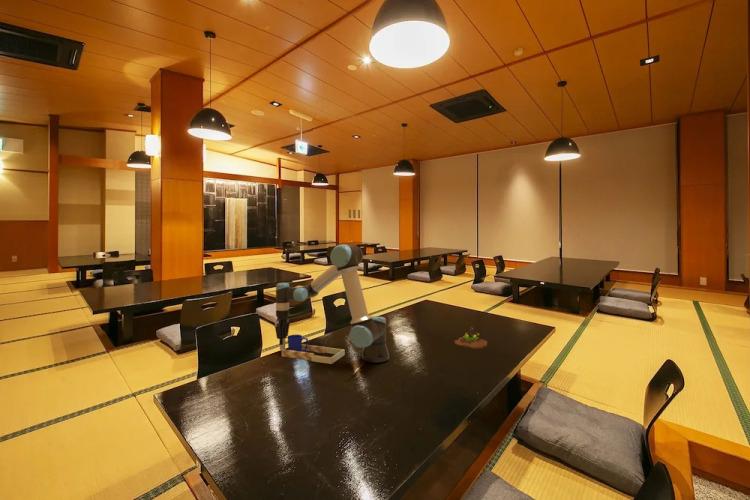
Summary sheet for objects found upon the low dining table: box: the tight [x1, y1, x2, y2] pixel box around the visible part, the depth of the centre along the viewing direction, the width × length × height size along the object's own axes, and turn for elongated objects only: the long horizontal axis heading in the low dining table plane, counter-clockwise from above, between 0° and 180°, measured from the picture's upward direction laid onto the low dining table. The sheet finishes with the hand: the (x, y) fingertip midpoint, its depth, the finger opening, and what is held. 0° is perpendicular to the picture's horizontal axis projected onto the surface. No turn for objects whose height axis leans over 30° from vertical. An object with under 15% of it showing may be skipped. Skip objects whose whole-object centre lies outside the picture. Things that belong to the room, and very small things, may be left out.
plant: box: [454, 326, 488, 350], centre depth 205 cm, size 20×20×11 cm
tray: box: [311, 346, 346, 365], centre depth 179 cm, size 12×16×3 cm
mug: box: [287, 334, 309, 352], centre depth 186 cm, size 8×12×10 cm
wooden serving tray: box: [281, 343, 326, 361], centre depth 184 cm, size 20×14×4 cm
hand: (282, 349), depth 190 cm, fingers closed
